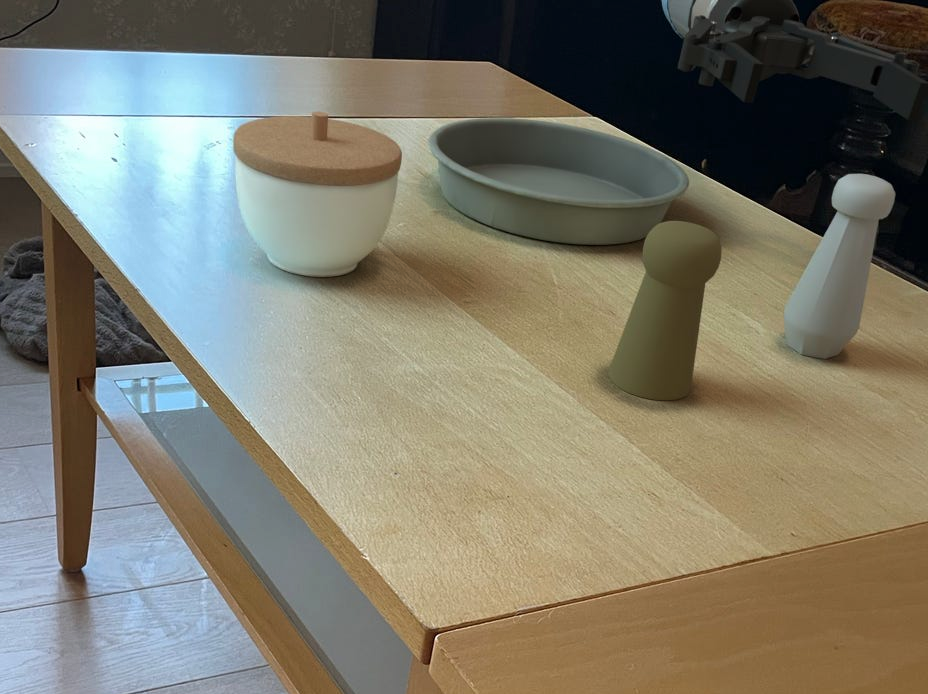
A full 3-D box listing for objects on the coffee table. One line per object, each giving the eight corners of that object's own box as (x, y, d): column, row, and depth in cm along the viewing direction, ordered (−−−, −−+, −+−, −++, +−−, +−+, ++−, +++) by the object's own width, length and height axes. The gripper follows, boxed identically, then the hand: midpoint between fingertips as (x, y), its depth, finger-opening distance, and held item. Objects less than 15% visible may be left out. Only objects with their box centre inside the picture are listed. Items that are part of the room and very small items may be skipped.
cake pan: (731, 238, 110) (744, 189, 107) (528, 267, 97) (537, 213, 94) (568, 155, 124) (576, 110, 121) (374, 170, 112) (378, 121, 109)
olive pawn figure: (708, 392, 83) (753, 239, 76) (646, 406, 79) (686, 248, 73) (652, 356, 86) (689, 207, 79) (590, 368, 83) (624, 215, 76)
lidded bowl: (218, 230, 95) (218, 86, 88) (365, 230, 99) (376, 92, 92) (251, 293, 86) (254, 138, 79) (411, 289, 90) (427, 142, 83)
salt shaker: (807, 367, 88) (867, 194, 80) (760, 335, 92) (812, 166, 84) (863, 359, 91) (926, 191, 83) (814, 328, 94) (870, 164, 86)
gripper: (858, 86, 108) (965, 159, 92) (603, 57, 104) (669, 128, 88) (887, -3, 104) (1005, 57, 88) (621, -38, 99) (695, 19, 83)
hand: (837, 93), depth 88 cm, fingers open, 13 cm apart
